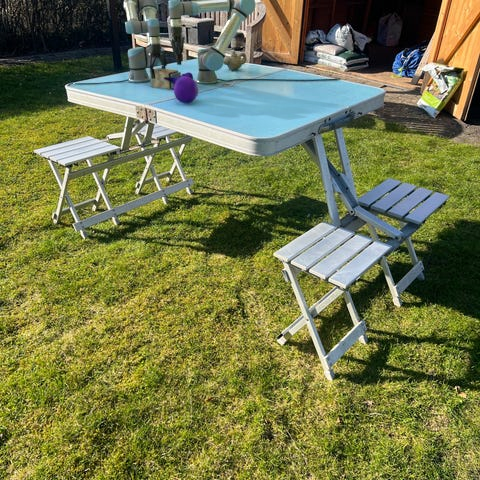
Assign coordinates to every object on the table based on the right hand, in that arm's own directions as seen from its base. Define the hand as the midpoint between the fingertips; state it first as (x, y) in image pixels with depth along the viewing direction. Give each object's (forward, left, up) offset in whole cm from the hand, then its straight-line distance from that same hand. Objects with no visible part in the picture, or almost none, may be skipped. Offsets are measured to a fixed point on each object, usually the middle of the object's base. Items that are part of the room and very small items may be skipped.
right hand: (179, 64), depth 305 cm
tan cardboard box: (+8, -13, -16) cm, 22 cm away
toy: (+10, +35, -16) cm, 40 cm away
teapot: (-62, -46, -16) cm, 79 cm away
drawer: (+4, -8, -15) cm, 18 cm away
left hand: (+10, -17, -10) cm, 23 cm away
